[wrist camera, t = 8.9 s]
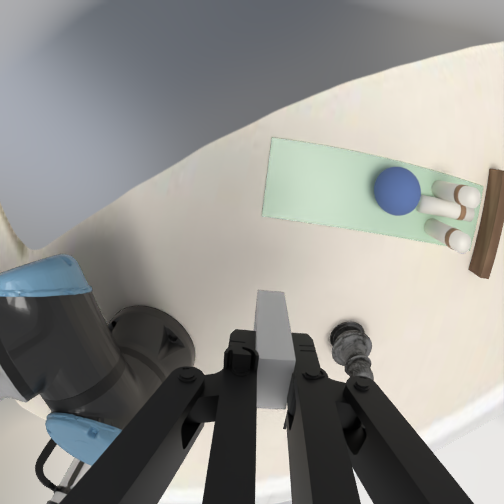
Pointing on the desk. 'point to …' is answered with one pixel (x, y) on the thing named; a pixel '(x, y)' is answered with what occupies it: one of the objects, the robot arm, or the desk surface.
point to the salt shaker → (352, 349)
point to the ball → (397, 191)
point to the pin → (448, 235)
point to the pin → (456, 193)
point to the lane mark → (346, 191)
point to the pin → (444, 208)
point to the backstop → (489, 226)
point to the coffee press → (70, 477)
